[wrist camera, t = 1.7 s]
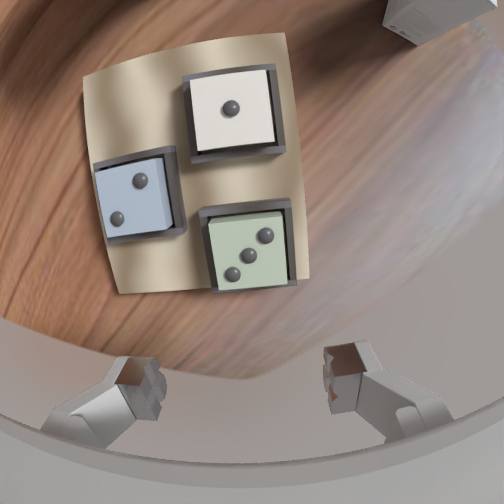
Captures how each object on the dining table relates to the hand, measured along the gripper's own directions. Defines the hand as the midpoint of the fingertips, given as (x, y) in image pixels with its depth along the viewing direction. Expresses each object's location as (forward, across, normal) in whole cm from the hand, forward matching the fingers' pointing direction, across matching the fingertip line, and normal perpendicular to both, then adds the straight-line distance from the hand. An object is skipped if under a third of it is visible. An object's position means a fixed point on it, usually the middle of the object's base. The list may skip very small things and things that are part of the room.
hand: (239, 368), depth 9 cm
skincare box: (+16, -17, -20) cm, 31 cm away
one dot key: (+13, 0, -10) cm, 17 cm away
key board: (+16, +4, -6) cm, 18 cm away
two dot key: (+13, +8, -5) cm, 16 cm away
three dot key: (+13, 0, 0) cm, 13 cm away
